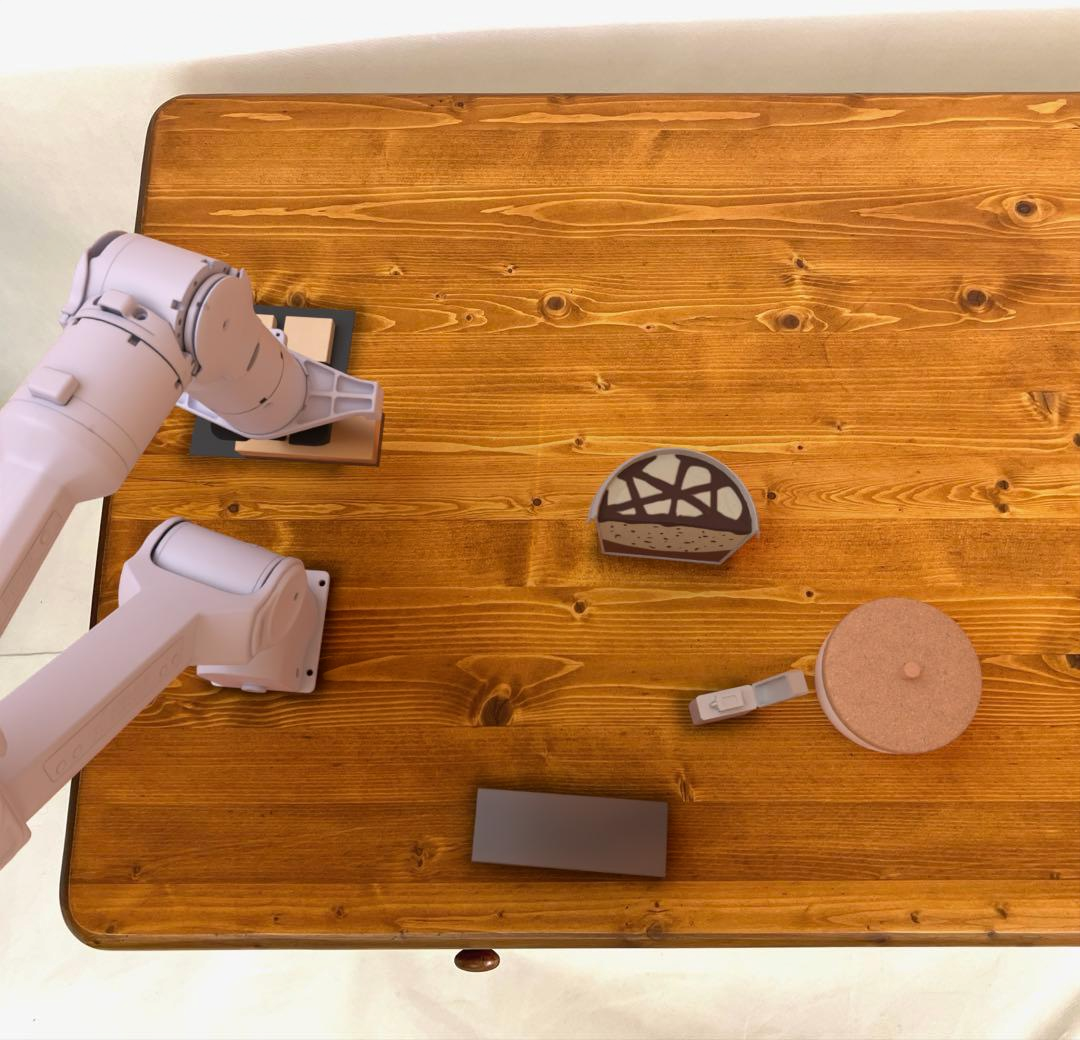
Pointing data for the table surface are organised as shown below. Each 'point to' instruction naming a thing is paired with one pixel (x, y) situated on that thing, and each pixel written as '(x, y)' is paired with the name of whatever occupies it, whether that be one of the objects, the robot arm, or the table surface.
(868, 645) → the trinket box
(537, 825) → the dark grey rectangular block
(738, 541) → the brown half-round block
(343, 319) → the mat
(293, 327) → the chip right
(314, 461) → the brown block with peg
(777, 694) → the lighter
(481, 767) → the table surface
